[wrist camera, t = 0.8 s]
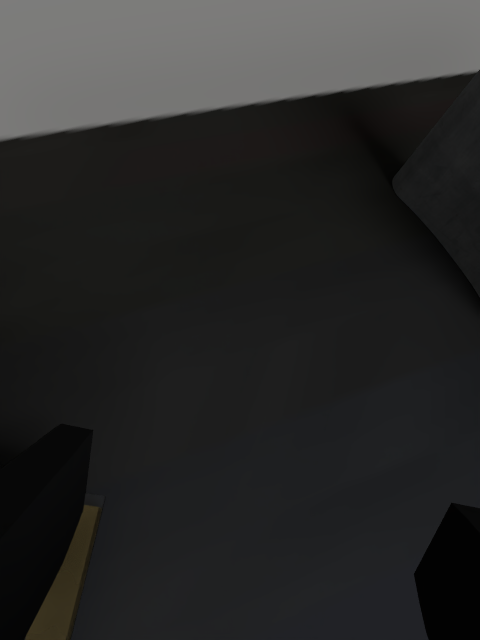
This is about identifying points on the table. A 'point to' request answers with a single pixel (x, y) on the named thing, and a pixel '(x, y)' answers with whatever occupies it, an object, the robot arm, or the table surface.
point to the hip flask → (449, 181)
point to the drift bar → (69, 579)
